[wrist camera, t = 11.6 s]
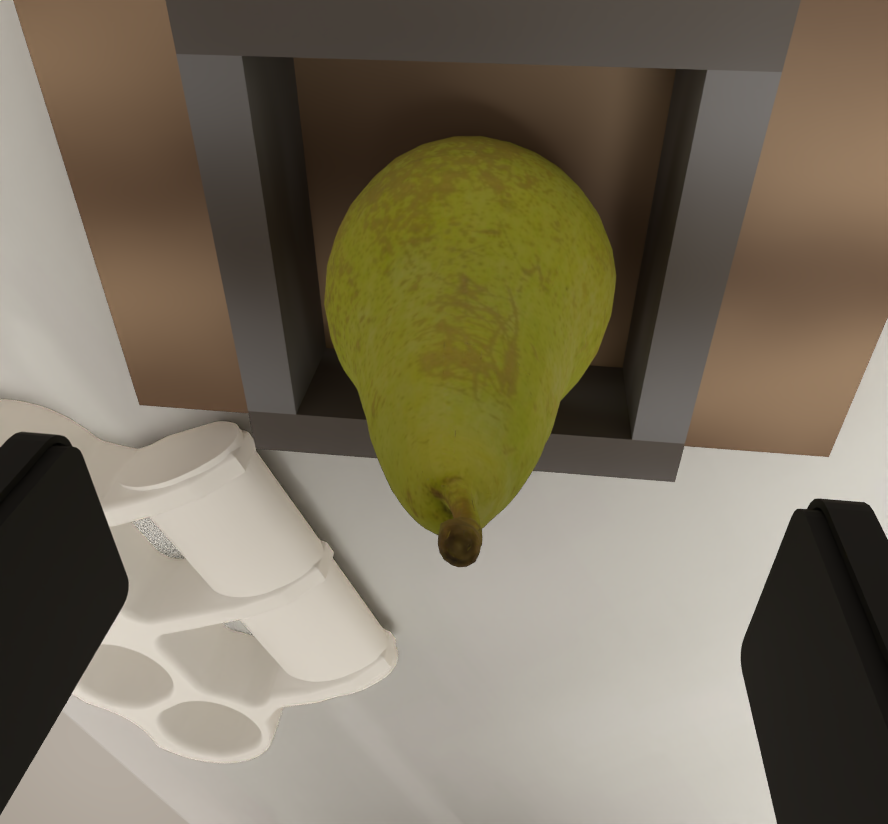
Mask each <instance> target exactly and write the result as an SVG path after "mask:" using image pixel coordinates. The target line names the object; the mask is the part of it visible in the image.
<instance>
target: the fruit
mask: <svg viewBox="0 0 888 824" xmlns="http://www.w3.org/2000/svg"><path fill="white" fill-rule="evenodd" d="M615 284H616V271H615V264H614V257H613V250H612V247H611V244H610V242H609V239H608V236H607V234H606V231H605V229H604V226H603V224H602V221H601V218H600V216H599V214H598V212H597V211H596V209H595V208H594V207H593V205H592V204H591V202H590V201H589V199H588V198H587V197H586V195H585V194H584V192H583V191H582V190H581V189H580V187H579V186H578V185H577V184H576V183H575V182H574V181H573V180H572V179H571V178H570V177H569V176H568V175H567V174H566V173H565V172H564V171H563V170H562V169H561V168H559V167H558V166H557V165H555V164H553V163H552V162H550V161H549V160H547V159H545V158H544V157H542V156H541V155H539V154H537V153H536V152H533V151H531V150H528V149H526V148H523V147H521V146H518V145H516V144H513V143H511V142H507V141H502V140H498V139H493V138H489V137H484V136H453V137H449V138H445V139H441V140H437V141H433V142H429V143H425V144H422V145H420V146H418V147H416V148H414V149H412V150H410V151H408V152H406V153H404V154H402V155H401V156H399V157H397V158H395V159H394V160H393V161H392V162H391V163H389V164H388V165H387V166H386V167H385V168H384V169H382V170H381V171H380V172H379V173H378V174H377V175H376V176H375V177H374V178H373V179H372V180H371V181H370V182H369V184H368V185H367V186H366V187H365V188H364V189H363V190H362V192H361V193H360V194H359V195H358V196H357V198H356V199H355V200H354V201H353V202H352V204H351V205H350V207H349V209H348V211H347V213H346V215H345V217H344V219H343V221H342V223H341V225H340V227H339V229H338V232H337V234H336V237H335V240H334V243H333V247H332V250H331V254H330V257H329V260H328V264H327V273H326V287H325V299H324V306H325V311H326V316H327V321H328V326H329V331H330V336H331V340H332V343H333V345H334V348H335V351H336V353H337V356H338V359H339V361H340V363H341V365H342V367H343V369H344V371H345V372H346V374H347V375H348V377H349V378H350V379H351V381H352V382H353V384H354V385H355V387H356V388H357V390H358V393H359V396H360V400H361V403H362V407H363V410H364V413H365V416H366V419H367V425H368V430H369V435H370V439H371V442H372V445H373V447H374V450H375V453H376V455H377V458H378V460H379V463H380V465H381V468H382V470H383V472H384V474H385V477H386V479H387V481H388V483H389V485H390V488H391V490H392V491H393V493H394V494H395V496H396V497H397V499H398V500H399V502H400V503H401V505H402V506H403V507H404V509H405V510H406V511H407V512H408V513H409V514H410V516H411V517H412V518H413V519H414V520H415V521H416V522H417V523H419V524H420V525H421V526H422V527H424V528H425V529H427V530H429V531H431V532H433V533H435V534H437V535H438V547H439V551H440V554H441V555H442V557H443V559H444V560H445V561H447V562H448V563H450V564H451V565H453V566H456V567H467V566H469V565H471V564H472V563H474V562H475V561H476V559H477V557H478V555H479V553H480V547H481V546H482V528H484V527H485V526H486V525H487V524H488V523H489V522H490V521H491V520H492V519H493V518H494V517H495V516H496V515H497V514H499V513H500V512H501V511H502V510H503V509H504V508H505V507H506V506H507V505H508V504H509V503H510V502H511V501H512V500H513V498H514V497H515V496H516V495H517V494H518V492H519V491H520V489H521V488H522V486H523V485H524V484H525V482H526V481H527V479H528V477H529V476H530V474H531V473H532V471H533V469H534V468H535V466H536V464H537V462H538V460H539V458H540V456H541V454H542V451H543V449H544V446H545V444H546V442H547V440H548V438H549V436H550V434H551V431H552V428H553V426H554V422H555V418H556V415H557V411H558V408H559V404H560V401H561V400H562V399H563V398H564V397H565V396H566V394H567V393H568V392H569V391H570V390H571V389H572V388H573V387H574V386H575V385H576V384H577V383H578V381H579V380H580V378H581V377H582V376H583V374H584V373H585V371H586V370H587V368H588V367H589V365H590V363H591V362H592V360H593V359H594V357H595V356H596V354H597V352H598V350H599V347H600V344H601V342H602V339H603V336H604V333H605V331H606V328H607V325H608V322H609V320H610V317H611V312H612V305H613V299H614V292H615Z"/></svg>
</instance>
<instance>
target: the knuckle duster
mask: <svg viewBox="0 0 888 824" xmlns="http://www.w3.org/2000/svg"><path fill="white" fill-rule="evenodd" d="M19 432H32V433H44V434H55V435H62V436H65V437H66V438H67V439H69V441H70V442H71V444H72V446H73V447H77V448H78V449H79V450H80V451H81V453H82V455H83V457H84V460H85V463H86V465H87V468H88V471H89V474H90V476H91V479H92V482H93V484H94V487H95V490H96V492H97V495H98V498H99V501H100V503H101V506H102V509H103V511H104V514H105V517H106V520H107V522H108V525H109V528H110V530H111V533H112V536H113V539H114V541H115V544H116V547H117V549H118V552H119V555H120V557H121V560H122V563H123V566H124V568H125V571H126V574H127V576H128V581H129V590H128V595H127V598H126V601H125V603H124V605H123V607H122V609H121V611H120V612H119V614H118V616H117V617H116V619H115V621H114V623H113V624H112V626H111V628H110V629H109V631H108V633H107V634H106V636H105V638H104V640H103V641H102V643H101V645H100V646H99V648H98V650H97V651H96V653H95V655H94V657H93V658H92V660H91V662H90V663H89V665H88V667H87V669H86V670H85V672H84V674H83V675H82V677H81V679H80V680H79V682H78V684H77V686H76V687H75V689H74V691H73V692H72V695H74V696H76V697H77V698H79V699H81V700H82V701H84V702H85V703H87V704H90V705H94V706H97V707H100V708H103V709H106V710H108V711H111V712H113V713H115V714H118V715H120V716H122V717H124V718H125V719H127V720H129V721H131V722H132V723H134V724H135V725H137V726H138V727H140V728H141V729H142V730H143V731H145V732H146V733H147V734H148V735H149V736H150V737H151V738H152V739H153V741H154V742H155V744H156V745H157V746H158V747H160V748H162V749H164V750H167V751H169V752H171V753H174V754H177V755H180V756H183V757H186V758H190V759H194V760H199V761H204V762H212V763H237V762H243V761H248V760H251V759H253V758H256V757H258V756H260V755H261V754H263V753H264V752H265V751H266V750H267V749H268V748H269V746H270V745H271V743H272V741H273V739H274V736H275V732H276V729H277V726H278V723H279V720H280V716H281V713H282V710H283V707H288V706H296V705H303V704H310V703H318V702H321V701H324V700H328V699H331V698H334V697H338V696H345V695H349V694H353V693H356V692H358V691H361V690H363V689H366V688H368V687H370V686H372V685H374V684H376V683H377V682H379V681H380V680H382V679H384V678H385V677H386V676H388V675H389V674H390V673H391V672H392V670H393V669H394V667H395V666H396V664H397V661H398V650H397V648H396V646H395V644H396V639H395V637H394V636H393V635H392V633H391V632H390V631H388V630H386V629H384V628H382V627H381V625H380V624H379V622H378V621H377V619H376V618H375V617H374V615H373V614H372V612H371V611H370V610H369V608H368V607H367V605H366V604H365V603H364V601H363V600H362V598H361V597H360V596H359V594H358V593H357V591H356V590H355V589H354V587H353V586H352V584H351V583H350V582H349V580H348V579H347V577H346V576H345V575H344V573H343V572H342V570H341V569H340V568H339V566H338V565H337V563H336V562H335V561H334V559H333V555H334V552H333V550H332V549H331V547H330V546H329V545H328V543H327V542H324V541H322V540H319V538H318V537H317V535H316V534H315V533H314V531H313V530H312V528H311V527H310V526H309V524H308V523H307V521H306V520H305V519H304V517H303V516H302V514H301V513H300V512H299V510H298V509H297V507H296V506H295V505H294V503H293V502H292V500H291V499H290V498H289V496H288V495H287V493H286V492H285V491H284V489H283V488H282V486H281V485H280V484H279V482H278V481H277V479H276V478H275V477H274V475H273V474H272V473H271V471H270V470H269V468H268V467H267V466H266V464H265V463H264V461H263V460H262V459H261V457H260V456H259V454H258V453H257V452H256V448H255V443H254V439H253V438H252V436H251V435H250V434H249V432H247V431H243V430H241V429H240V428H239V427H238V425H237V424H235V423H232V422H226V421H216V422H213V423H209V424H206V425H203V426H199V427H196V428H193V429H189V430H186V431H182V432H179V433H176V434H172V435H169V436H167V437H165V438H163V439H161V440H159V441H157V442H155V443H153V444H152V445H149V446H146V447H142V448H139V449H136V448H131V447H127V446H123V445H119V444H114V443H110V442H106V441H103V440H101V439H99V438H97V437H96V436H95V435H93V434H92V433H91V432H89V431H88V430H87V429H85V428H84V427H83V426H81V425H80V424H78V423H76V422H75V421H73V420H71V419H70V418H68V417H66V416H64V415H62V414H60V413H58V412H55V411H53V410H51V409H48V408H45V407H42V406H39V405H36V404H32V403H28V402H24V401H18V400H9V399H0V447H1V446H2V445H3V444H4V443H5V442H6V441H7V439H8V438H10V437H11V436H12V435H14V434H15V433H19ZM148 517H150V519H151V520H152V521H153V522H154V523H155V524H156V525H157V527H158V528H159V529H160V530H161V531H162V532H163V533H164V534H165V536H166V537H167V538H168V539H169V540H170V541H171V542H172V544H173V545H174V546H175V547H176V548H177V549H178V550H179V552H180V553H181V554H182V555H183V556H184V557H185V558H184V559H176V558H171V557H168V556H166V555H164V554H162V553H160V552H159V551H158V550H157V549H156V548H155V547H154V546H153V545H152V544H151V543H150V542H149V541H148V540H147V538H146V537H145V536H144V535H143V534H142V533H141V532H140V531H139V530H138V528H137V527H136V526H135V525H134V524H133V523H132V522H133V521H136V520H140V519H144V518H148ZM237 620H240V621H241V622H242V623H243V624H244V625H245V626H246V628H247V629H248V630H249V631H250V632H251V633H252V634H253V635H254V636H253V635H250V634H246V633H243V632H238V631H234V630H232V629H230V628H228V627H226V626H225V625H224V624H223V623H226V622H231V621H237Z"/></svg>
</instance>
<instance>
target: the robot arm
mask: <svg viewBox="0 0 888 824" xmlns="http://www.w3.org/2000/svg"><path fill="white" fill-rule="evenodd" d="M128 590H129V581H128V576H127V574H126V571H125V568H124V566H123V563H122V560H121V557H120V555H119V552H118V549H117V547H116V544H115V541H114V539H113V536H112V533H111V530H110V528H109V525H108V522H107V520H106V517H105V514H104V511H103V509H102V506H101V503H100V501H99V498H98V495H97V492H96V490H95V487H94V484H93V482H92V479H91V476H90V474H89V471H88V468H87V465H86V463H85V460H84V457H83V455H82V453H81V451H80V450H79V449H78V448H77V447H73V446H72V444H71V442H70V441H69V439H67V438H66V437H65V436H62V435H55V434H44V433H32V432H19V433H15V434H14V435H12V436H11V437H10V438H8V439H7V441H6V442H5V443H4V444H3V445H2V446H1V447H0V815H1V813H2V811H3V810H4V808H5V806H6V804H7V803H8V801H9V799H10V798H11V796H12V794H13V793H14V791H15V789H16V788H17V786H18V784H19V782H20V781H21V779H22V777H23V776H24V774H25V772H26V771H27V769H28V767H29V765H30V763H31V762H32V760H33V758H34V757H35V755H36V754H37V752H38V750H39V748H40V747H41V745H42V743H43V741H44V740H45V738H46V737H47V735H48V733H49V731H50V730H51V728H52V726H53V725H54V723H55V721H56V720H57V717H58V716H59V714H60V713H61V711H62V709H63V708H64V706H65V704H66V703H67V701H68V699H69V697H70V696H71V694H72V692H73V691H74V689H75V687H76V686H77V684H78V682H79V680H80V679H81V677H82V675H83V674H84V672H85V670H86V669H87V667H88V665H89V663H90V662H91V660H92V658H93V657H94V655H95V653H96V651H97V650H98V648H99V646H100V645H101V643H102V641H103V640H104V638H105V636H106V634H107V633H108V631H109V629H110V628H111V626H112V624H113V623H114V621H115V619H116V617H117V616H118V614H119V612H120V611H121V609H122V607H123V605H124V603H125V601H126V598H127V595H128ZM741 667H742V673H743V677H744V681H745V686H746V690H747V694H748V699H749V703H750V707H751V712H752V716H753V720H754V725H755V729H756V733H757V738H758V742H759V746H760V751H761V755H762V759H763V764H764V768H765V773H766V777H767V781H768V786H769V790H770V794H771V799H772V803H773V807H774V812H775V816H776V820H777V824H888V539H887V537H886V535H885V533H884V531H883V529H882V527H881V525H880V523H879V521H878V519H877V517H876V515H875V513H874V511H873V510H872V508H871V507H870V505H868V504H866V503H865V502H853V501H841V500H829V499H814V500H813V501H812V502H811V503H810V505H809V506H808V508H807V509H797V510H796V511H794V513H793V515H792V517H791V520H790V522H789V525H788V527H787V530H786V532H785V535H784V537H783V540H782V543H781V545H780V548H779V550H778V553H777V555H776V558H775V560H774V563H773V565H772V568H771V571H770V573H769V576H768V578H767V581H766V583H765V586H764V588H763V591H762V594H761V596H760V599H759V601H758V604H757V606H756V609H755V611H754V614H753V616H752V619H751V622H750V624H749V627H748V629H747V632H746V634H745V637H744V639H743V643H742V648H741Z"/></svg>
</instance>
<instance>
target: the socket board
mask: <svg viewBox="0 0 888 824" xmlns="http://www.w3.org/2000/svg"><path fill="white" fill-rule="evenodd" d="M13 1H14V4H15V8H16V11H17V14H18V17H19V20H20V24H21V27H22V30H23V33H24V36H25V40H26V43H27V46H28V49H29V52H30V56H31V59H32V62H33V65H34V68H35V72H36V75H37V78H38V81H39V84H40V88H41V91H42V94H43V97H44V100H45V104H46V107H47V110H48V113H49V116H50V120H51V123H52V126H53V129H54V132H55V136H56V139H57V142H58V145H59V149H60V152H61V155H62V158H63V161H64V165H65V168H66V171H67V174H68V177H69V181H70V184H71V187H72V190H73V193H74V197H75V200H76V203H77V206H78V209H79V213H80V216H81V219H82V222H83V225H84V229H85V232H86V235H87V238H88V241H89V245H90V248H91V251H92V254H93V257H94V261H95V264H96V267H97V270H98V273H99V277H100V280H101V283H102V286H103V289H104V293H105V296H106V299H107V302H108V305H109V309H110V312H111V315H112V318H113V321H114V325H115V328H116V331H117V334H118V337H119V341H120V344H121V347H122V350H123V353H124V357H125V360H126V363H127V366H128V369H129V373H130V376H131V379H132V382H133V385H134V389H135V392H136V395H137V398H138V402H139V405H147V406H160V407H173V408H186V409H200V410H213V411H226V412H240V413H249V418H250V423H251V428H252V433H253V438H254V443H255V448H256V449H268V450H280V451H293V452H305V453H318V454H330V455H343V456H355V457H368V458H377V455H376V453H375V450H374V447H373V445H372V442H371V439H370V435H369V430H368V425H367V419H366V416H365V413H364V410H363V407H362V403H361V400H360V396H359V393H358V390H357V388H356V387H355V385H354V384H353V382H352V381H351V379H350V378H349V377H348V375H347V374H346V372H345V371H344V369H343V367H342V365H341V363H340V361H339V359H338V356H337V353H336V351H335V348H334V345H333V343H332V340H331V336H330V331H329V326H328V321H327V316H326V311H325V306H324V299H325V287H326V273H327V264H328V260H329V257H330V254H331V250H332V247H333V243H334V240H335V237H336V234H337V232H338V229H339V227H340V225H341V223H342V221H343V219H344V217H345V215H346V213H347V211H348V209H349V207H350V205H351V204H352V202H353V201H354V200H355V199H356V198H357V196H358V195H359V194H360V193H361V192H362V190H363V189H364V188H365V187H366V186H367V185H368V184H369V182H370V181H371V180H372V179H373V178H374V177H375V176H376V175H377V174H378V173H379V172H380V171H381V170H382V169H384V168H385V167H386V166H387V165H388V164H389V163H391V162H392V161H393V160H394V159H395V158H397V157H399V156H401V155H402V154H404V153H406V152H408V151H410V150H412V149H414V148H416V147H418V146H420V145H422V144H425V143H429V142H433V141H437V140H441V139H445V138H449V137H453V136H484V137H489V138H493V139H498V140H502V141H507V142H511V143H513V144H516V145H518V146H521V147H523V148H526V149H528V150H531V151H533V152H536V153H537V154H539V155H541V156H542V157H544V158H545V159H547V160H549V161H550V162H552V163H553V164H555V165H557V166H558V167H559V168H561V169H562V170H563V171H564V172H565V173H566V174H567V175H568V176H569V177H570V178H571V179H572V180H573V181H574V182H575V183H576V184H577V185H578V186H579V187H580V189H581V190H582V191H583V192H584V194H585V195H586V197H587V198H588V199H589V201H590V202H591V204H592V205H593V207H594V208H595V209H596V211H597V212H598V214H599V216H600V218H601V221H602V224H603V226H604V229H605V231H606V234H607V236H608V239H609V242H610V244H611V247H612V250H613V257H614V264H615V271H616V284H615V292H614V299H613V305H612V312H611V317H610V320H609V322H608V325H607V328H606V331H605V333H604V336H603V339H602V342H601V344H600V347H599V350H598V352H597V354H596V356H595V357H594V359H593V360H592V362H591V363H590V365H589V367H588V368H587V370H586V371H585V373H584V374H583V376H582V377H581V378H580V380H579V381H578V383H577V384H576V385H575V386H574V387H573V388H572V389H571V390H570V391H569V392H568V393H567V394H566V396H565V397H564V398H563V399H562V400H561V401H560V404H559V408H558V411H557V415H556V418H555V422H554V426H553V428H552V431H551V434H550V436H549V438H548V440H547V442H546V444H545V446H544V449H543V451H542V454H541V456H540V458H539V460H538V462H537V464H536V466H535V468H534V469H533V471H543V472H556V473H568V474H581V475H593V476H606V477H618V478H631V479H644V480H656V481H669V482H675V479H676V475H677V472H678V468H679V464H680V460H681V456H682V452H683V449H684V446H691V447H704V448H717V449H731V450H744V451H757V452H770V453H784V454H797V455H810V456H823V457H829V455H830V453H831V450H832V448H833V446H834V443H835V441H836V438H837V436H838V434H839V431H840V429H841V427H842V424H843V422H844V420H845V417H846V415H847V412H848V410H849V408H850V405H851V403H852V401H853V398H854V396H855V393H856V391H857V389H858V386H859V384H860V382H861V379H862V377H863V375H864V372H865V370H866V367H867V365H868V363H869V360H870V358H871V356H872V353H873V351H874V349H875V346H876V344H877V341H878V339H879V337H880V334H881V332H882V330H883V327H884V325H885V323H886V320H887V318H888V0H13Z"/></svg>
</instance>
